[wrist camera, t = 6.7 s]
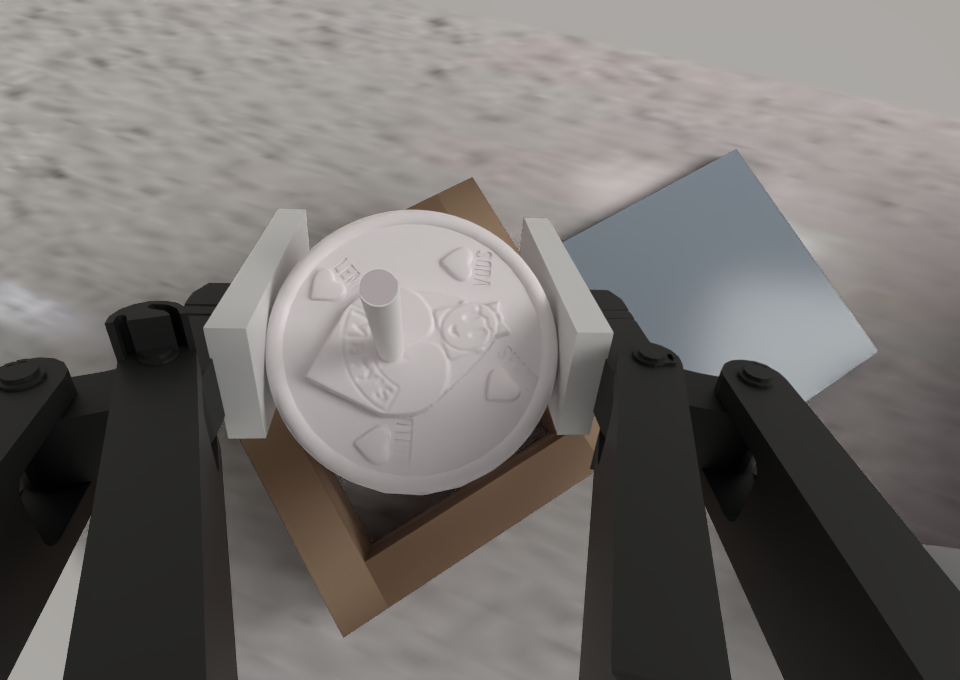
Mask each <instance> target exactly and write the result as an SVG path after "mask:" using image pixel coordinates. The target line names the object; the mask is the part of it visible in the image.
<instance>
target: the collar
mask: <svg viewBox="0 0 960 680" xmlns="http://www.w3.org/2000/svg"><path fill="white" fill-rule="evenodd" d="M406 210H428V211H435V212H441V213H445V214H449V215H453V216H457V217H459V218H462V219H465V220H468V221H470V222H472V223H475V224H477V225H479V226H481V227H483V228H484V229H486V230H488V231H490V232H491V233H493V234H494V235H496V236H497V237H499V238H500V239H501V240H503V241H504V242H505V243H506V244H508V245H509V246H510V247H511V248H512V249H513V250H514V251H515V252H516V253H517V254H518V255H519V254H520V253H519V251H518V249H517V248H516V246H515V245H514V243H513V241H512V240H511V238H510V237H509V235H508V233H507V232H506V230H505V229H504V227H503V225H502V224H501V222H500V221H499V219H498V217H497V216H496V214H495V213H494V211H493V209H492V208H491V206H490V205H489V203H488V201H487V200H486V198H485V197H484V195H483V193H482V192H481V190H480V189H479V187H478V185H477V184H476V182H475V180H474V179H473V177H472V178H470V179H468V180H466V181H464V182H461V183H459V184H457V185H455V186H453V187H451V188H449V189H447V190H445V191H443V192H441V193H439V194H437V195H435V196H433V197H430V198H428V199H426V200H424V201H422V202H420V203H418V204H416V205H414V206H412V207H410V208H408V209H406ZM541 421H542V423H543V424H544V426H545V428H546V429H547V431H548V434H547V435H545V436H543V437H542V438H540V439H539V440H537V441H535V442H534V443H532V444H531V445H529V446H527V447H526V448H524V449H523V450H521V451H519V452H518V453H516V454H515V455H513V456H511V457H510V458H508V459H507V460H506V461H505V462H503V463H502V464H501V465H500V466H498V467H497V468H495V469H494V470H493V471H491V472H489V473H487V474H486V475H484V476H482V477H480V478H478V479H476V480H474V481H472V482H470V483H468V484H467V485H465V486H464V487H462V488H460V489H459V490H457V491H456V492H454V493H452V494H451V495H449V496H448V497H446V498H444V499H443V500H441V501H440V502H438V503H436V504H435V505H433V506H432V507H430V508H428V509H427V510H425V511H424V512H422V513H421V514H419V515H417V516H416V517H414V518H413V519H411V520H409V521H408V522H406V523H405V524H403V525H401V526H400V527H398V528H397V529H395V530H393V531H392V532H390V533H389V534H387V535H385V536H384V537H382V538H381V539H379V540H377V541H376V542H374V543H373V544H372V542H371V540H370V538H369V536H368V535H367V533H366V531H365V529H364V527H363V525H362V524H361V522H360V520H359V518H358V516H357V514H356V512H355V511H354V509H353V507H352V505H351V503H350V501H349V500H348V498H347V496H346V494H345V492H344V490H343V489H342V487H341V485H340V483H339V481H338V479H337V477H336V476H335V474H334V472H332V471H330V470H329V469H327V468H326V467H325V466H323V465H322V464H320V463H319V462H318V461H317V460H316V459H314V458H313V457H312V456H311V455H310V454H309V453H308V452H307V451H306V450H305V449H304V448H303V447H302V446H301V445H300V444H299V443H298V442H297V440H296V439H295V438H294V436H293V435H292V433H291V432H290V431H289V429H288V428H287V426H286V424H285V423H284V421H283V419H282V418H281V416H280V414H279V411H278V409H277V407H276V409H275V412H274V415H273V418H272V421H271V424H270V427H269V430H268V433H267V436H266V438H244V439H240V441H241V443H242V445H243V447H244V449H245V451H246V453H247V454H248V456H249V458H250V460H251V462H252V464H253V466H254V468H255V470H256V472H257V474H258V476H259V477H260V479H261V481H262V483H263V485H264V487H265V489H266V491H267V493H268V495H269V497H270V498H271V500H272V502H273V504H274V506H275V508H276V510H277V512H278V514H279V516H280V518H281V519H282V521H283V523H284V525H285V527H286V529H287V531H288V533H289V535H290V537H291V539H292V540H293V542H294V544H295V546H296V548H297V550H298V552H299V554H300V556H301V558H302V560H303V562H304V563H305V565H306V567H307V569H308V571H309V573H310V575H311V577H312V579H313V581H314V583H315V584H316V586H317V588H318V590H319V592H320V594H321V596H322V598H323V600H324V602H325V604H326V605H327V607H328V609H329V611H330V613H331V615H332V617H333V619H334V621H335V623H336V625H337V627H338V628H339V630H340V632H341V634H342V636H343V638H344V637H345V636H347V635H348V634H350V633H351V632H353V631H354V630H356V629H357V628H359V627H360V626H362V625H363V624H365V623H366V622H368V621H369V620H371V619H372V618H374V617H375V616H377V615H378V614H380V613H381V612H383V611H384V610H386V609H387V608H389V607H390V606H392V605H393V604H395V603H396V602H398V601H400V600H401V599H403V598H404V597H406V596H407V595H409V594H410V593H412V592H413V591H415V590H416V589H418V588H419V587H421V586H422V585H424V584H425V583H427V582H428V581H430V580H431V579H433V578H434V577H436V576H437V575H439V574H440V573H442V572H443V571H445V570H446V569H448V568H449V567H451V566H452V565H454V564H456V563H457V562H459V561H460V560H462V559H463V558H465V557H466V556H468V555H469V554H471V553H472V552H474V551H475V550H477V549H478V548H480V547H481V546H483V545H484V544H486V543H487V542H489V541H490V540H492V539H493V538H495V537H496V536H498V535H499V534H501V533H502V532H504V531H505V530H507V529H508V528H510V527H512V526H513V525H515V524H516V523H518V522H519V521H521V520H522V519H524V518H525V517H527V516H528V515H530V514H531V513H533V512H534V511H536V510H537V509H539V508H540V507H542V506H543V505H545V504H546V503H548V502H549V501H551V500H552V499H554V498H555V497H557V496H558V495H560V494H561V493H563V492H564V491H566V490H568V489H569V488H571V487H572V486H574V485H575V484H577V483H578V482H580V481H581V480H583V479H584V478H586V477H587V476H589V475H590V474H592V473H593V472H594V470H591V469H590V466H591V462H592V458H593V454H594V450H595V446H596V442H597V438H598V434H599V430H600V427H599V424H598V422H597V420H596V417H595V415H594V418H593V422H592V426H591V431H590V435H557V433H556V430H555V426H554V423H553V420H552V417H551V414H550V410H549V407H548V404H547V407H546V409H545V411H544V413H543V415H542V417H541Z"/></svg>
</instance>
